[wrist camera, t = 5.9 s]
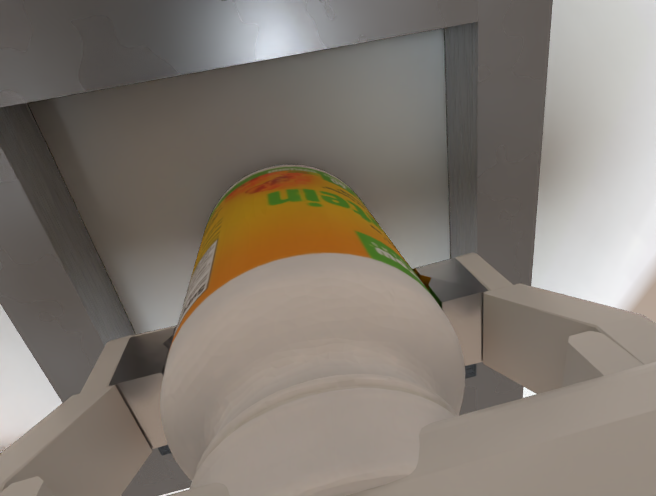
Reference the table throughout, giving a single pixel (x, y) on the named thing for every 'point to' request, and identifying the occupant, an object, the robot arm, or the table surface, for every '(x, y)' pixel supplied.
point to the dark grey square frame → (229, 50)
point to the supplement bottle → (304, 346)
